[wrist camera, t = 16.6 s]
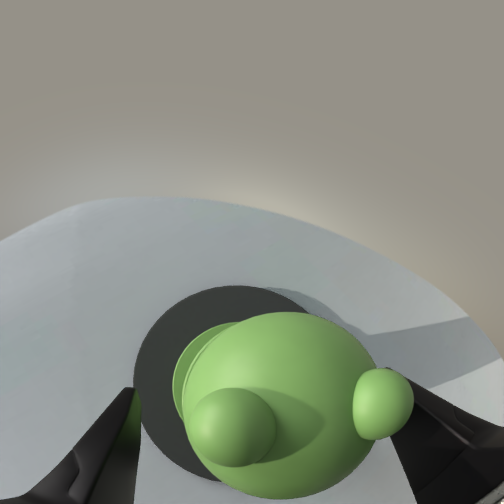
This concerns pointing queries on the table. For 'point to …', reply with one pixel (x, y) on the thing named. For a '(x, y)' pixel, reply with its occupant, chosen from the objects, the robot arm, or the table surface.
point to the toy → (285, 403)
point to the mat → (170, 349)
